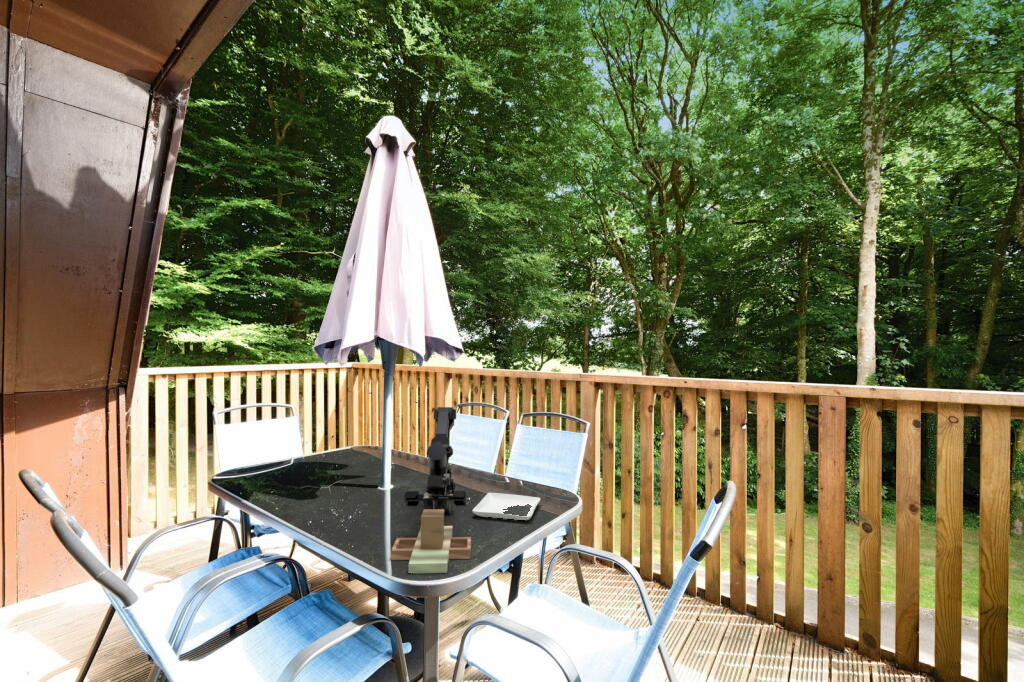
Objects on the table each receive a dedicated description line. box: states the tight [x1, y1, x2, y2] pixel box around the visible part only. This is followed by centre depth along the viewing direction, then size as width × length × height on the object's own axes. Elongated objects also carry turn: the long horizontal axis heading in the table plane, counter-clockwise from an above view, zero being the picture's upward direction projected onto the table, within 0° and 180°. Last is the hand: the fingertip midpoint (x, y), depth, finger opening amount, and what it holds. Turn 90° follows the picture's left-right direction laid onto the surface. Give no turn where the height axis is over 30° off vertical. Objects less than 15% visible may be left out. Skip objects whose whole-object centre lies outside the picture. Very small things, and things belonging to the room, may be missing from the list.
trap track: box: [390, 525, 472, 574], centre depth 134 cm, size 26×22×2 cm
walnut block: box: [420, 508, 445, 549], centre depth 133 cm, size 6×6×9 cm
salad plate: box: [472, 492, 541, 521], centre depth 169 cm, size 21×21×3 cm
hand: (433, 525), depth 136 cm, fingers closed, pressing on walnut block
